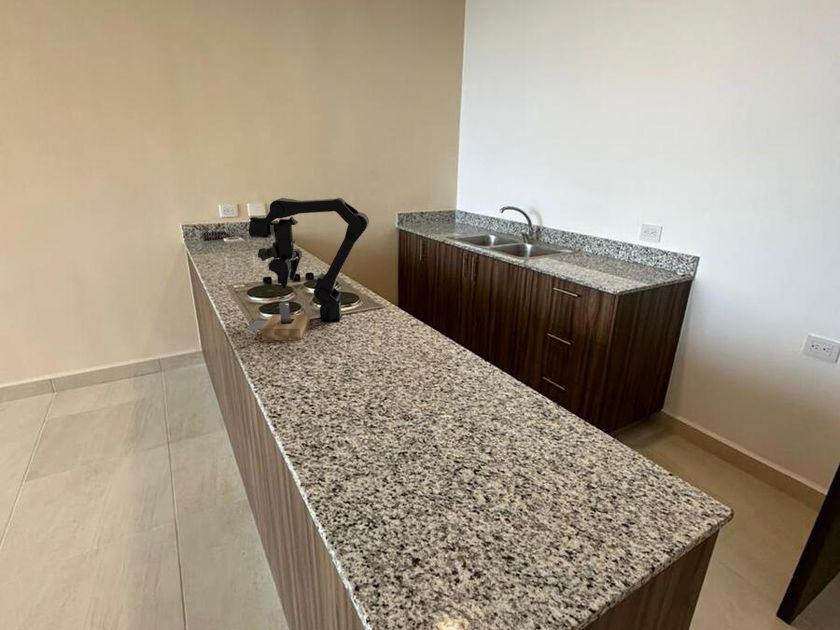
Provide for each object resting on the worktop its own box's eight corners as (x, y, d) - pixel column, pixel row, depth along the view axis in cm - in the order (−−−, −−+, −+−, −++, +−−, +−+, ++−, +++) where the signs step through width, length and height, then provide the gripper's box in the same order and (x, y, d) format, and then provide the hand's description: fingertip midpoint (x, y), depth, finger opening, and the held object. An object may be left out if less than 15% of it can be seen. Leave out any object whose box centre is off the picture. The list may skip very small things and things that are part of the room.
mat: (276, 321, 158) (276, 320, 158) (268, 330, 151) (268, 329, 151) (255, 321, 158) (255, 320, 158) (247, 330, 151) (247, 329, 151)
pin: (292, 331, 150) (290, 302, 147) (290, 334, 148) (287, 305, 144) (283, 331, 150) (280, 302, 147) (281, 334, 148) (277, 305, 144)
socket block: (309, 326, 154) (309, 314, 153) (301, 340, 143) (300, 328, 142) (274, 325, 154) (272, 314, 153) (262, 340, 143) (261, 328, 142)
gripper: (268, 232, 160) (272, 276, 165) (249, 244, 142) (255, 292, 148) (300, 233, 160) (304, 276, 165) (285, 244, 142) (290, 292, 148)
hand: (288, 284), depth 157 cm, fingers open, 9 cm apart
